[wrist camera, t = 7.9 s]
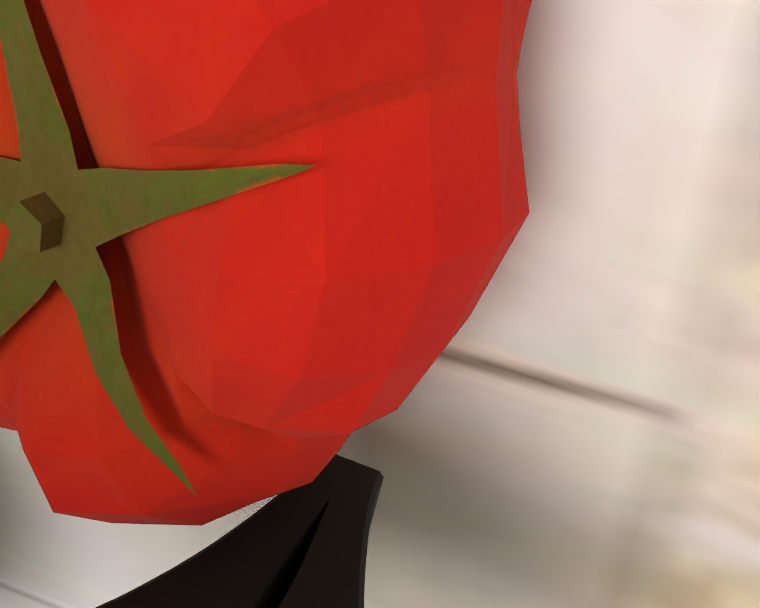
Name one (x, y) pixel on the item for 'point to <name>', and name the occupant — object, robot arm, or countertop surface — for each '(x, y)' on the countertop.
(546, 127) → the countertop surface
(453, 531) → the countertop surface
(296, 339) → the tomato
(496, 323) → the countertop surface
